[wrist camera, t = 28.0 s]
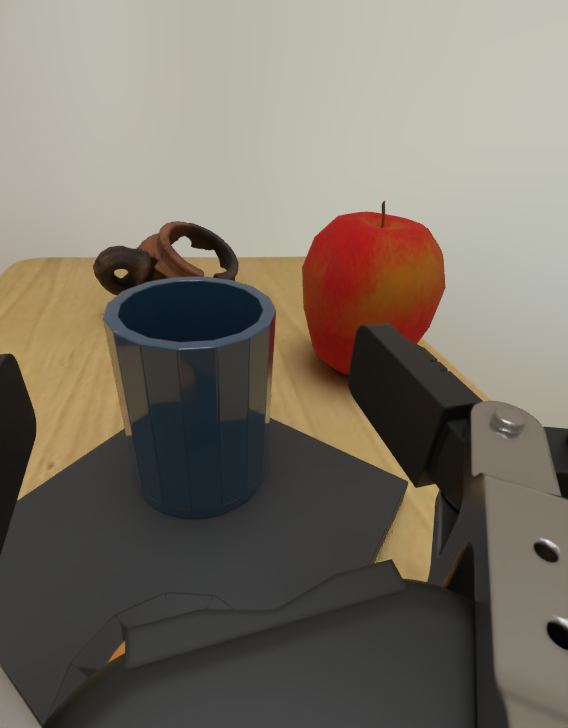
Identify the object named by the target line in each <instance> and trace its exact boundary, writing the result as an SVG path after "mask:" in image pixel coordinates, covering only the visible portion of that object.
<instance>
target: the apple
mask: <svg viewBox="0 0 568 728" xmlns="http://www.w3.org/2000/svg"><path fill="white" fill-rule="evenodd" d="M302 275H303V304H304V311H305V315H306V320H307V324H308V328H309V332H310V337H311V341H312V345H313V348H314V350H315V353H316V355H317V356H318V357H319V358H321V359H322V360H323V361H325V362H326V363H327V364H328V365H330V366H331V367H332V368H334V369H335V370H336V371H338V372H339V373H341V374H345V375H348V374H349V368H350V363H351V357H352V352H353V346H354V341H355V335H356V332H357V329H358V328H359V327H360V326H361V325H370V324H382V323H389V324H391V325H392V326H393V327H394V328H395V329H396V330H397V331H398V332H399V333H400V334H401V335H403V336H404V337H405V338H406V339H408V340H410V341H412V342H414V343H415V344H417V343H418V342H419V340H420V339H421V338H422V336H423V335H424V334H425V332H426V331H427V330H428V328H429V327H430V324H431V322H432V319H433V317H434V314H435V312H436V310H437V307H438V305H439V302H440V300H441V297H442V295H443V292H444V290H445V275H444V261H443V254H442V251H441V249H440V247H439V245H438V244H437V242H436V240H435V239H434V237H433V236H432V234H431V232H430V231H429V229H428V228H426V227H425V226H423V225H422V224H420V223H417V222H414V221H412V220H409V219H405V218H401V217H397V216H391V215H386V214H385V201H384V202H383V203H382V214H380V213H374V212H358V213H352V214H345V215H341V216H338V217H336V218H335V219H334V220H333V221H332V222H331V223H330V224H329V225H328V226H326V227H325V228H324V229H323V230H322V231H321V232H320V233H319V234H318V235H316V236H315V237H314V240H313V242H312V245H311V247H310V250H309V252H308V254H307V257H306V259H305V262H304V264H303V267H302Z"/></svg>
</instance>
